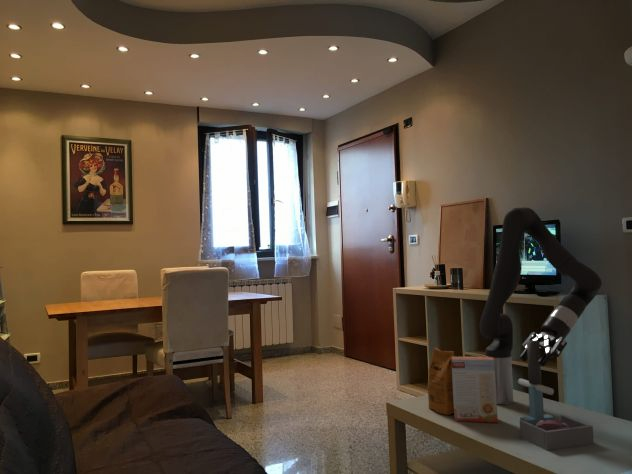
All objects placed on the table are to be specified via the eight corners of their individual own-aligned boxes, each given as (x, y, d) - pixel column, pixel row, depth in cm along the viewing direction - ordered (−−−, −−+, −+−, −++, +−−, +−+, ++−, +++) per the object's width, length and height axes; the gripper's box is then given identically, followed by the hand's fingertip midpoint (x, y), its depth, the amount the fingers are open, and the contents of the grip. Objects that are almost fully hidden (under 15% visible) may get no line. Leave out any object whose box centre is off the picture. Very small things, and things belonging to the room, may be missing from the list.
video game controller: (535, 442, 151) (533, 424, 148) (536, 431, 154) (534, 413, 152) (572, 447, 146) (571, 428, 144) (572, 435, 150) (570, 417, 147)
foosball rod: (509, 425, 161) (505, 339, 162) (536, 421, 163) (531, 337, 165) (539, 439, 147) (534, 345, 149) (567, 435, 150) (562, 343, 151)
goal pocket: (520, 437, 151) (519, 420, 151) (564, 431, 155) (563, 414, 155) (547, 450, 140) (546, 432, 140) (593, 443, 144) (592, 426, 144)
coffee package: (446, 404, 188) (443, 345, 190) (467, 413, 177) (465, 350, 178) (424, 407, 185) (421, 347, 186) (444, 416, 173) (442, 353, 174)
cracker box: (496, 418, 170) (493, 356, 171) (498, 423, 164) (495, 359, 166) (454, 415, 174) (451, 355, 175) (454, 421, 168) (451, 358, 169)
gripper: (537, 313, 166) (508, 350, 162) (568, 317, 152) (538, 358, 149) (551, 328, 167) (523, 365, 163) (584, 333, 153) (554, 374, 150)
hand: (531, 362), depth 156 cm, fingers open, 8 cm apart
